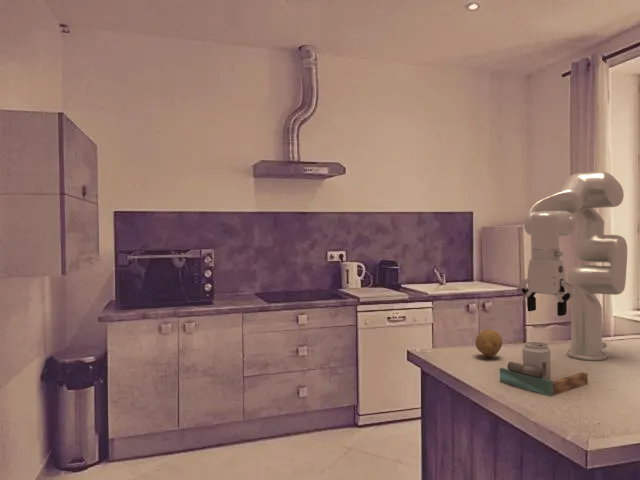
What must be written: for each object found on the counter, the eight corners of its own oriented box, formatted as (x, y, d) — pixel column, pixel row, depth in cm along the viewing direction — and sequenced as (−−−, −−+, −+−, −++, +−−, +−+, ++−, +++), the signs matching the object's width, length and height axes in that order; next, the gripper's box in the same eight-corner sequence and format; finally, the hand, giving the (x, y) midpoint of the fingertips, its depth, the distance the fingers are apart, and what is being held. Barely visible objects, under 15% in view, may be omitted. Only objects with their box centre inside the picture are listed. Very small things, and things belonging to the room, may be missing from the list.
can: (553, 389, 147) (553, 346, 146) (525, 388, 148) (524, 346, 148) (547, 381, 154) (547, 340, 154) (520, 380, 155) (520, 340, 155)
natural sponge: (498, 362, 176) (498, 333, 175) (472, 359, 180) (471, 330, 180) (504, 356, 183) (504, 328, 183) (479, 353, 188) (478, 326, 188)
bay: (537, 371, 164) (537, 344, 164) (587, 383, 151) (587, 354, 151) (498, 382, 154) (498, 353, 154) (548, 396, 141) (548, 364, 140)
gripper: (581, 255, 147) (582, 315, 148) (527, 252, 162) (528, 307, 163) (565, 257, 143) (566, 319, 144) (511, 254, 158) (513, 310, 159)
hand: (546, 312), depth 153 cm, fingers open, 9 cm apart
